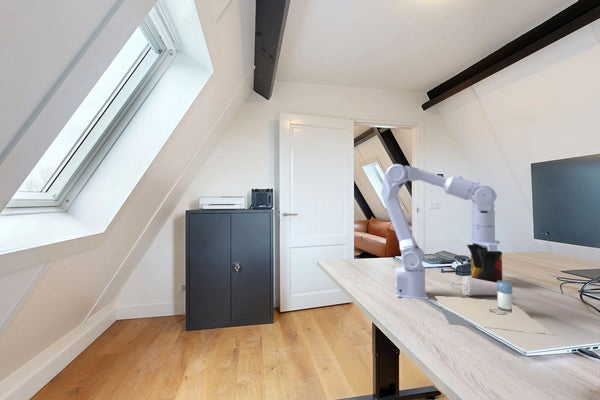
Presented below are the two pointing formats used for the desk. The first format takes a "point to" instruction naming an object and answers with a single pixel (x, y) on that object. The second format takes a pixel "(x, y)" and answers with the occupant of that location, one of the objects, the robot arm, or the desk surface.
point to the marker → (504, 296)
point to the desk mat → (455, 318)
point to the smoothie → (477, 286)
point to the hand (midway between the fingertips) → (483, 271)
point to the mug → (479, 274)
